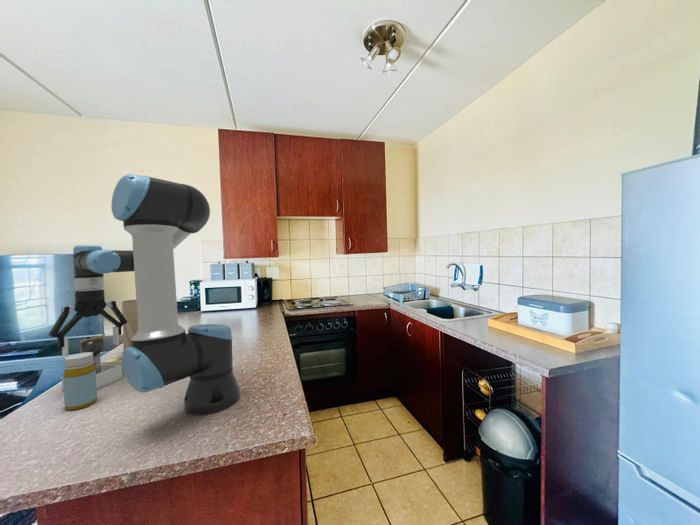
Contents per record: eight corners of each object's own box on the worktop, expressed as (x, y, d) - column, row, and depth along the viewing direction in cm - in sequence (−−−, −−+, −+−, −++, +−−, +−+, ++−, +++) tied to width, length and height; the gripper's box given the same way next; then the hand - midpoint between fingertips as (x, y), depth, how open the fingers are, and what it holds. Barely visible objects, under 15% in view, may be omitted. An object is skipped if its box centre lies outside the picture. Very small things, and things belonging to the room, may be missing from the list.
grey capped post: (86, 388, 93) (83, 342, 93) (79, 384, 96) (76, 340, 96) (108, 381, 98) (106, 337, 98) (101, 377, 101) (99, 335, 101)
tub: (89, 393, 91) (89, 378, 91) (62, 391, 93) (61, 376, 93) (122, 378, 102) (121, 365, 102) (97, 377, 104) (96, 363, 104)
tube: (133, 359, 122) (131, 302, 121) (118, 357, 125) (116, 302, 124) (156, 351, 131) (154, 299, 131) (141, 349, 134) (139, 298, 134)
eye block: (127, 374, 105) (127, 363, 105) (101, 372, 107) (101, 362, 107) (155, 362, 117) (154, 353, 117) (130, 361, 119) (130, 352, 119)
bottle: (94, 396, 89) (92, 350, 88) (98, 403, 84) (96, 354, 84) (63, 406, 83) (61, 356, 83) (66, 414, 79) (63, 361, 78)
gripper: (40, 294, 84) (44, 364, 84) (136, 286, 106) (138, 341, 106) (33, 293, 88) (36, 360, 88) (127, 285, 109) (129, 339, 110)
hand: (92, 350), depth 97 cm, fingers open, 13 cm apart
